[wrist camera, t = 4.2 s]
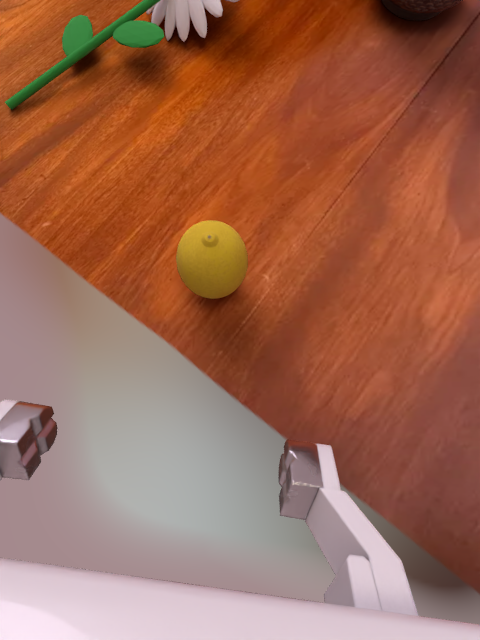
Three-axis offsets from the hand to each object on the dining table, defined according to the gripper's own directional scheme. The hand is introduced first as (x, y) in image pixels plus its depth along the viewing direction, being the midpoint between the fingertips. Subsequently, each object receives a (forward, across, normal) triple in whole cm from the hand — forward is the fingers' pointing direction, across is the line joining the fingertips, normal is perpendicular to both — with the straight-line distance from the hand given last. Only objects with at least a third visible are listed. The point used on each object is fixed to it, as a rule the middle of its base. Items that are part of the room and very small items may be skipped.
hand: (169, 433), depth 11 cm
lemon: (+19, +1, +3) cm, 20 cm away
